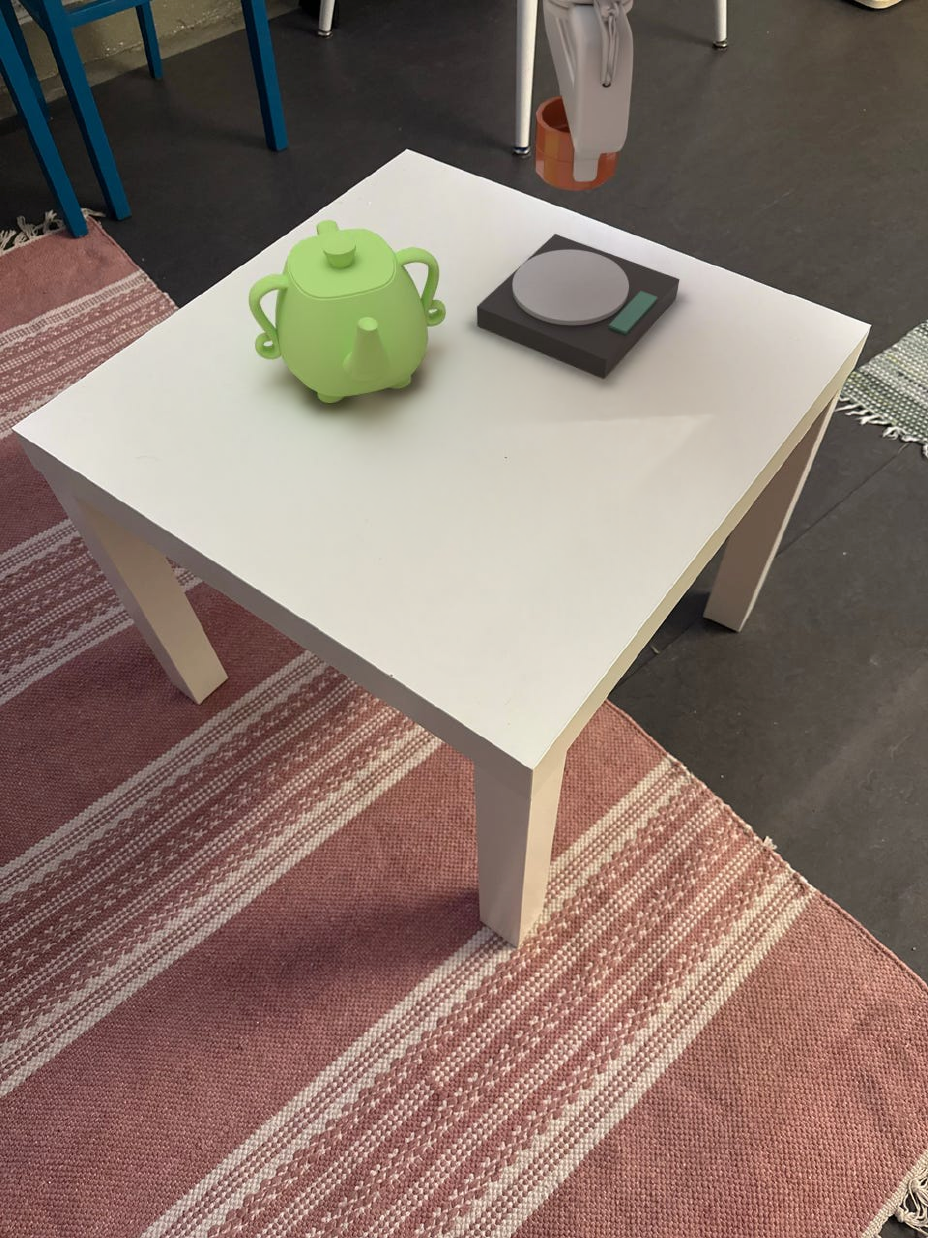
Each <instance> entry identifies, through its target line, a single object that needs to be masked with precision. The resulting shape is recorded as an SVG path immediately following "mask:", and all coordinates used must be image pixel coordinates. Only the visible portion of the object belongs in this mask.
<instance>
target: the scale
mask: <svg viewBox="0 0 928 1238" xmlns="http://www.w3.org/2000/svg"><path fill="white" fill-rule="evenodd" d="M679 285H680V278H677V277H674V276H672V275H669V274H666V273H664V272H662V271H658V270H656V269H653V268H651V267H648V266H645V265H642V264H640V263H637V262H633V261H631V260H628V259H626V258H623V257H620V256H617V255H615V254H612V253H609V252H607V251H605V250H601V249H598V248H596V247H592V246H590V245H588V244H585V243H582V242H579V241H576V240H573V239H572V238H569V237H565V236H563V235H560V234H557V233H554V234H553V235H552V236H551V237H549V239H548V240H546V241H545V242H544V243H543V244H542V245H541V246H540V247H539V248H538V249H537V250H536V251H534V253H533V254H531V255H530V256H529V257H528V258H527V259H526V260H525V261H524V262H522V264H520V265H519V267H518V268H516V269H515V271H513V272H511V274H510V275H509V276H507V277H506V279H505V280H503V282H502V283H500V284H499V285H498V286H497V287H496V288H495V289H494V290H493V291H492V292H491V293H490V294H488V295H487V297H485V298H484V299H483V300H482V301H481V302H480V303H479V304H478V305H477V306H476V326H477V327H479V328H482V329H484V330H486V331H489V332H491V333H494V334H496V335H499V336H500V337H503V338H506V339H508V340H510V341H513V342H515V343H517V344H520V345H522V346H525V347H527V348H529V349H531V350H534V351H536V352H539V353H540V354H544V355H546V356H548V357H550V358H553V359H555V360H558V361H560V362H563V363H565V364H566V365H567V364H568V365H570V366H572V367H574V368H576V369H579V370H582V371H584V372H587V373H588V374H590V375H593V376H596V377H598V378H601V379H603V380H605V379H606V378H607V377H608V376H609V374H611V372H612V371H613V370H614V369H615V368H616V367H617V365H618V364H619V363H620V362H621V361H622V360H623V359H624V358H625V356H626V355H627V354H628V353H629V352H630V351H631V350H632V349H633V347H635V345H636V344H637V343H638V342H639V341H640V339H642V338H643V337H644V335H645V334H646V333H647V332H648V331H649V330H650V328H651V327H652V326H653V325H654V324H655V323H656V322H657V320H658V319H660V317H661V316H662V315H663V314H664V313H665V311H666V310H668V308H669V307H670V306H671V305H672V304H673V303H674V302H675V301H676V299H677V296H678V290H679Z"/></svg>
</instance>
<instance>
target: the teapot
mask: <svg viewBox="0 0 928 1238" xmlns="http://www.w3.org/2000/svg"><path fill="white" fill-rule="evenodd" d="M316 233H317V234H316V235H312V236H309V237H305V238H304V239H302V240H300V241H298V242H297V243H295V245H293V246H292V248H291V249H290V251H289V253H288V255H287V258H286V261H285V263H284V267H283V270H282V273H274V274H268V275H265V276H263V277H261V278H260V279H259V280H257V281H256V282H255V283H254V284H253V285H252V286H251V288H250V291H249V293H248V306H249V309H250V312H251V314H252V316H253V318H254V319H255V321H256V323H257V324H258V325H259V327H260V328H261V329H262V331H263V332H262V333H259V334H258V335H257V336H256V338H255V340H254V348H255V351H256V353H257V354H258V355H259V357H261V358H262V359H265V360H278V359H279V358H280V357H281V358H282V359H283V361H284V363H285V364H286V367H288V369H289V370H290V372H291V373H292V374H293V375H294V376H295V377H296V378H297V379H298V380H299V381H300V382H302V384H304V385H305V386H307V387H308V388H309V389H311V390H313V391H315V392H316V393H317V395H316V396H317V397H318V400H320V401H321V402H323V403H327V404H334V403H337V402H339V401H341V400H343V399H344V397H351V396H356V395H363V394H369V393H373V392H378V391H381V390H384V389H387V388H390V389H394V390H396V389H397V390H398V389H403V388H405V387H408V385H410V383H411V381H412V375H413V373H414V372H415V371H416V370H417V369H418V367H419V366H420V365H421V363H422V361H423V359H424V358H425V355H426V351H427V348H428V342H429V330H428V327H431V328H432V327H436V326H438V325H440V324H442V322H444V320H445V319H446V314H447V310H446V309H447V308H446V306H445V304H444V302H442V300H440V299H437V298H436V299H435V295H436V292H437V289H438V285H439V280H440V267H439V262H438V261H437V259H436V257H435V256H434V255H433V254H432V253H431V252H430V251H428V250H426V249H423V248H420V247H415V246H414V247H406V248H403V249H400V250H398V251H396V252H395V251H394V250H393V248H392V247H391V246H390V244H389V243H388V242H387V241H386V240H385V239H384V238H383V237H382V236H381V235H379V234H378V233H376V232H374V231H372V230H369V229H365V228H348V229H341V230H340V229H339V226H338V223H337V222H336V221H335V220H333V219H325V220H322V221H319V222H318V223H317V224H316ZM415 263H419V264H424V265H426V266H427V270H428V271H427V277H426V281H425V284H424V288H423V290H422V294H421V296H420V293H419V291H418V289H417V287H416V284H415V282H414V281H413V278H412V277H411V275H410V273H409V271H408V270H407V268H406V267H405V266H406V265H408V264H415ZM273 291H277V294H276V301H275V308H274V309H275V310H274V312H275V313H274V318H275V319H274V322H275V325H273V323H272V322H271V321H270V319H269V318H268V317H267V315H266V313H265V312H264V311H263V308H262V306H261V300H262V298H263V297H265V295H267V294H269V293H270V292H273ZM433 310H435V311H433ZM430 311H433V312H430ZM268 342H271V344H270V345H264V344H266V343H268Z"/></svg>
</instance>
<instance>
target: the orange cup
mask: <svg viewBox="0 0 928 1238" xmlns="http://www.w3.org/2000/svg"><path fill="white" fill-rule="evenodd" d="M534 131H535V132H534V155H533V156H534V157H533V160H534V161H533V165H534V170H535V173H536V174H537V175H539V176H540V178H542V180H543V181H544V182H545V183H547V184H548V185H550V186H551V187H554V188H557V189H561V190H565V191H574V192H575V191H578V192H579V191H586V190H592V189H595V188H598V187H600V186H602V185H603V184H604V183H606V182H607V181H609V179H611V178H612V177H613V176H614V175H615V174H616V171H617V169H618V165H619V164H618V163H619V156H620V151H617V152H610V153H601V155H600V157H599V159H598V168H597V176H596V178H595V179H594V180H593V181H584V182H578V181H576V180H575V179H574V176H573V171H572V156H573V150H575V149H574V146H573V141H572V137H571V133H570V128H569V124H568V120H567V116H566V112H565V108H564V104H563V99H562V95H561V96H560V95H557V96H554V97H551V98H548V99H547V100H546V101H544V102H543V103H541V104H540V105H539V107H538V109H537V110H536V112H535V129H534Z"/></svg>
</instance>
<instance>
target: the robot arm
mask: <svg viewBox="0 0 928 1238" xmlns="http://www.w3.org/2000/svg"><path fill="white" fill-rule="evenodd" d="M542 5H543V6H542V9H543V19H544V20H543V21H544V27H545V32H546V33H545V34H546V36H547V41H548V45H549V49H550V55H551V58H552V62H553V66H554V71H555V74H556V78H557V83H558V86H559V88H558V89H559V96H561V95H562V99H563V104H564V108H565V112H566V116H567V120H568V124H569V128H570V133H571V137H572V141H573V146H574V149H575V150H573V156H572V171H573V176H574V179H575V180H576V181H578V182H584V181H593V180H594V179H595V178H596V176H597V168H598V159H599V157H600V155H601V153H610V152H617V151H619V152H620V151H621V150H622V149H623V147H624V145H625V143H626V140H627V136H628V129H629V128H628V127H629V117H630V106H631V97H632V96H631V94H632V84H633V71H634V70H633V68H634V39H633V38H634V37H633V31H632V28H631V24H630V22H629V20H628V17H627V13H629V12H630V11H631V9H632V8H633V5H634V0H542Z"/></svg>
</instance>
